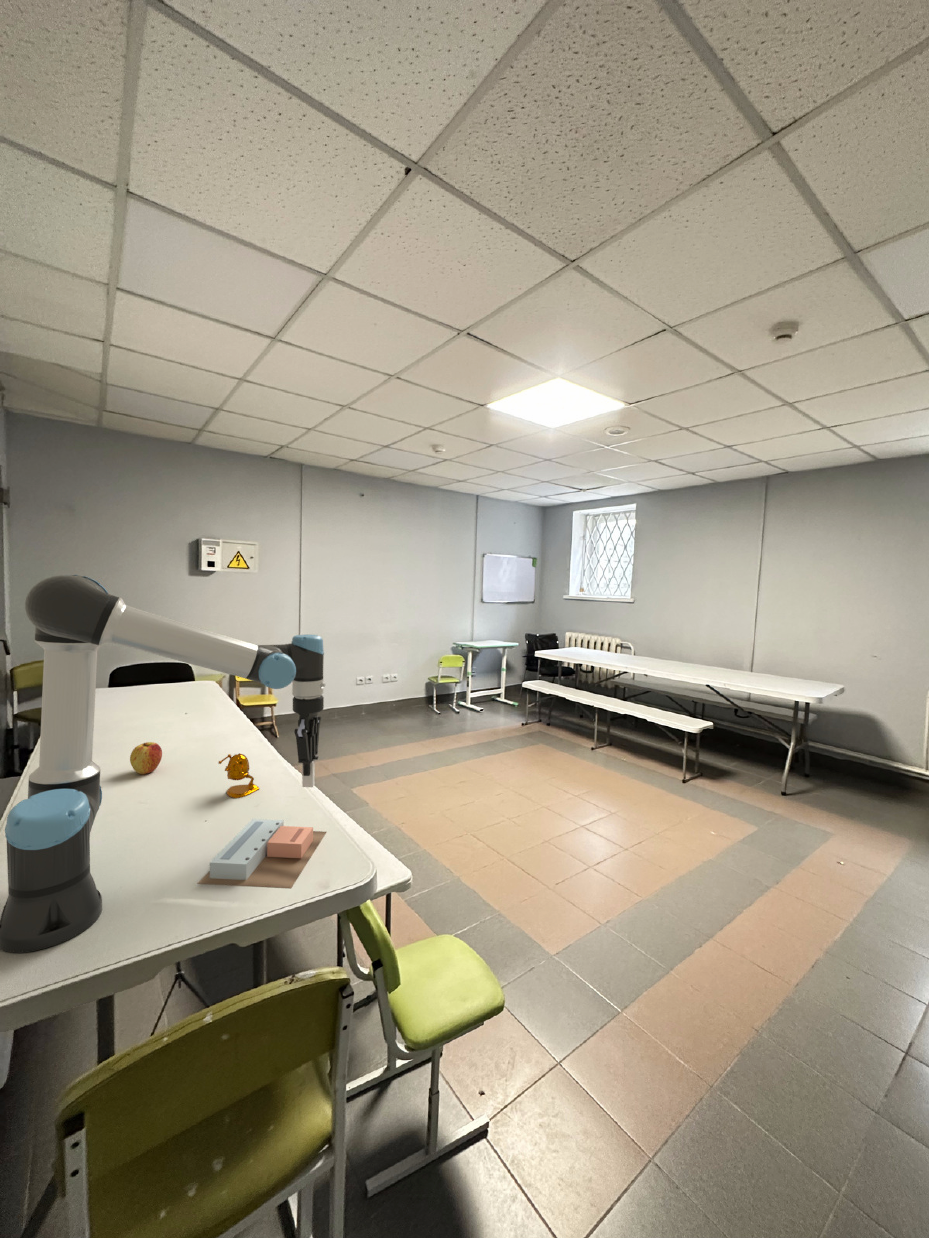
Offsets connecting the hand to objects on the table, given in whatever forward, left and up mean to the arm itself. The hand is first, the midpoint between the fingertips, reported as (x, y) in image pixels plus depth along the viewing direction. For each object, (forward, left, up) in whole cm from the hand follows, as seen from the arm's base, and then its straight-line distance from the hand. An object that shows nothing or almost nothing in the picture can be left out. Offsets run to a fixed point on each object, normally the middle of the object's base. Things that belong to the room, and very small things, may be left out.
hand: (308, 785), depth 128 cm
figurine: (+22, +29, -13) cm, 39 cm away
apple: (+34, +66, -13) cm, 76 cm away
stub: (-10, +1, -12) cm, 15 cm away
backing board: (-13, +5, -12) cm, 18 cm away
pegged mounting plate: (-13, +9, -12) cm, 20 cm away
